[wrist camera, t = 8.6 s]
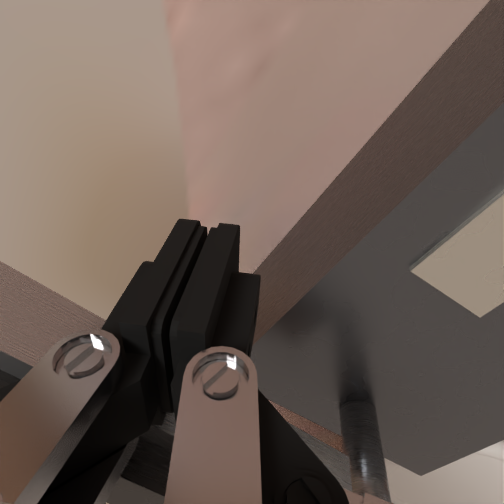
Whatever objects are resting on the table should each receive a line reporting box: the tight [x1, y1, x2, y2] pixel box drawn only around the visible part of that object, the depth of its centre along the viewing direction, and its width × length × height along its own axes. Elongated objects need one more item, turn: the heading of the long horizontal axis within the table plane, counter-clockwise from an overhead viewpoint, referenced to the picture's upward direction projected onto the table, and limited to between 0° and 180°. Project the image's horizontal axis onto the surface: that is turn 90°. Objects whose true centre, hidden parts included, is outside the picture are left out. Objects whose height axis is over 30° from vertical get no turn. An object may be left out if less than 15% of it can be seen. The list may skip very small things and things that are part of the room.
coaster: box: [384, 440, 504, 504], centre depth 26 cm, size 10×10×4 cm
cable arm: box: [0, 261, 352, 504], centre depth 10 cm, size 14×3×3 cm, turn 53°
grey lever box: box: [250, 0, 504, 503], centre depth 13 cm, size 18×12×12 cm, turn 147°
